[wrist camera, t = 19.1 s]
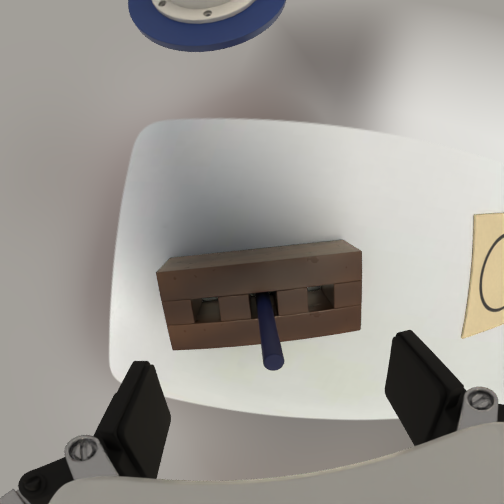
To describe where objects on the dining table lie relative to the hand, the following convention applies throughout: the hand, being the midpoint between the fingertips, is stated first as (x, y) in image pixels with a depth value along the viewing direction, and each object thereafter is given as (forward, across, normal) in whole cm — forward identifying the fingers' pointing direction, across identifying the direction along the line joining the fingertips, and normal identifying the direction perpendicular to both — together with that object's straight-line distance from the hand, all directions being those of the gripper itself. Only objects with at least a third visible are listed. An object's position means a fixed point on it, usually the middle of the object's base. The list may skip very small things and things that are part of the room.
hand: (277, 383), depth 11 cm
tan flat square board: (+18, -33, +6) cm, 38 cm away
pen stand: (+18, 0, +3) cm, 19 cm away
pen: (+18, 0, +3) cm, 19 cm away
